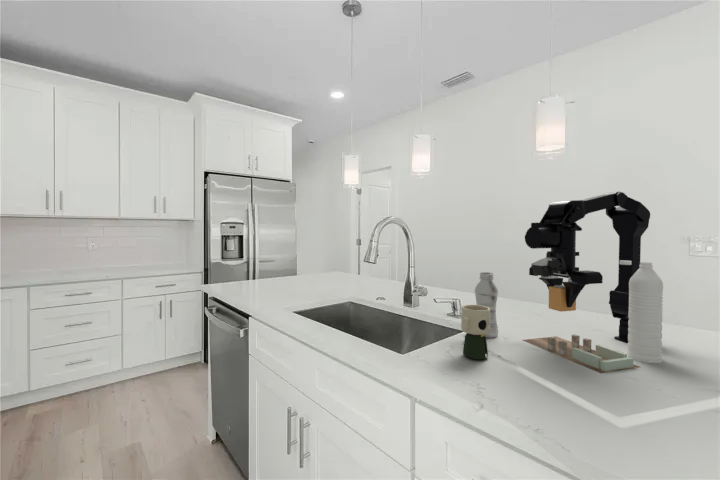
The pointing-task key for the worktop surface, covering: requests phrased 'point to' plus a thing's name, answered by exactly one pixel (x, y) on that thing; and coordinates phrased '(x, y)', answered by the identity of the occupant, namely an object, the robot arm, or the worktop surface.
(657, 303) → the water bottle
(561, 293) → the orange upright block
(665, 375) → the worktop surface
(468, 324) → the character mug
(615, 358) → the bracket
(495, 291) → the plastic bottle
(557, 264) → the robot arm
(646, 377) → the worktop surface
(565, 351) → the board
